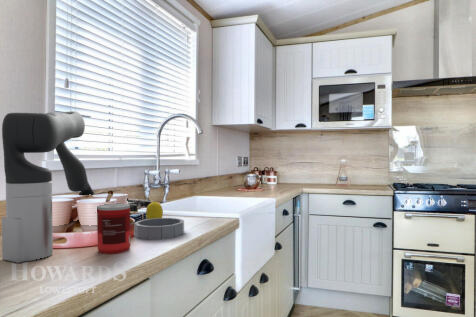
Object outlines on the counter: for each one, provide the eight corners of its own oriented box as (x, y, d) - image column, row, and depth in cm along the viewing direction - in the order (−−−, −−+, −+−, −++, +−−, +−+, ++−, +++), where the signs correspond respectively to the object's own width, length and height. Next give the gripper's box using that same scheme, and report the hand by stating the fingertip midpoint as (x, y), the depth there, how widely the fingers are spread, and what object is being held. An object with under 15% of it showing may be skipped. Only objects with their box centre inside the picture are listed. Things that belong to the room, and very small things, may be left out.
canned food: (117, 244, 92) (117, 202, 92) (137, 248, 88) (136, 204, 88) (90, 251, 86) (90, 206, 86) (110, 256, 82) (109, 208, 82)
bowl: (162, 241, 95) (162, 228, 95) (124, 236, 102) (124, 224, 102) (193, 231, 107) (192, 219, 107) (157, 227, 114) (157, 216, 114)
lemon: (158, 226, 115) (158, 202, 115) (143, 226, 117) (142, 201, 117) (165, 223, 121) (165, 200, 121) (150, 223, 122) (150, 199, 122)
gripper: (95, 195, 122) (130, 197, 114) (126, 191, 134) (160, 193, 127) (96, 217, 122) (130, 221, 114) (127, 211, 134) (160, 214, 127)
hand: (146, 206), depth 120 cm, fingers open, 8 cm apart
